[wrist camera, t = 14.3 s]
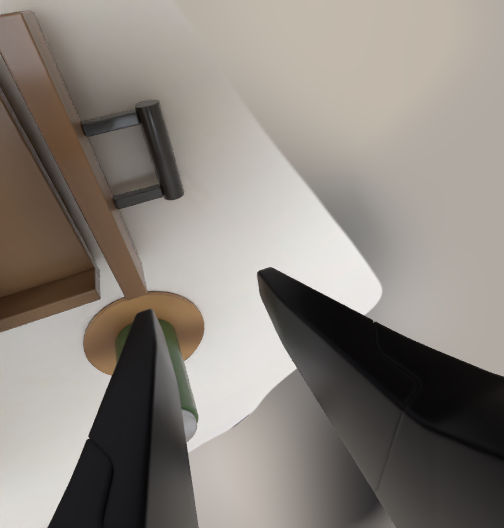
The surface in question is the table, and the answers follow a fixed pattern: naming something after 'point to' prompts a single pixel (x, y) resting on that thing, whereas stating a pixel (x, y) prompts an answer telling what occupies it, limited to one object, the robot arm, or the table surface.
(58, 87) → the drawer
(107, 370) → the coaster
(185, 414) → the can
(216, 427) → the table surface
